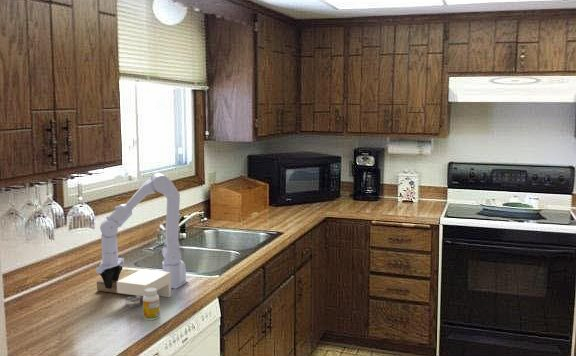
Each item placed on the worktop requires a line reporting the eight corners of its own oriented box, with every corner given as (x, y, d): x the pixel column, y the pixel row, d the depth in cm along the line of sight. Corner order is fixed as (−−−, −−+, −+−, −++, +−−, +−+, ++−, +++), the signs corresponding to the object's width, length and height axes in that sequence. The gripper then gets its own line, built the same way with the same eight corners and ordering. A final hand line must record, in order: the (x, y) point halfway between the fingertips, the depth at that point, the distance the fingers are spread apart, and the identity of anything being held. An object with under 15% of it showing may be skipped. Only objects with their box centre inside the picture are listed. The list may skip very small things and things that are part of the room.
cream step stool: (142, 292, 218) (141, 268, 217) (171, 295, 214) (170, 272, 213) (116, 306, 203) (115, 281, 202) (147, 310, 199) (146, 285, 198)
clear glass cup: (130, 301, 209) (130, 296, 209) (142, 302, 207) (142, 297, 207) (122, 305, 204) (122, 300, 204) (134, 307, 203) (134, 302, 203)
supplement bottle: (142, 315, 194) (141, 288, 193) (158, 313, 197) (157, 286, 195) (144, 321, 190) (143, 293, 188) (161, 319, 192) (160, 290, 190)
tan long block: (102, 288, 222) (101, 279, 221) (137, 292, 217) (137, 283, 216) (97, 290, 219) (96, 281, 219) (133, 295, 214) (132, 285, 213)
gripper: (112, 246, 225) (114, 279, 227) (88, 255, 211) (90, 291, 213) (128, 247, 222) (129, 281, 224) (104, 257, 209) (106, 293, 211)
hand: (111, 286), depth 219 cm, fingers closed on tan long block, 3 cm apart
